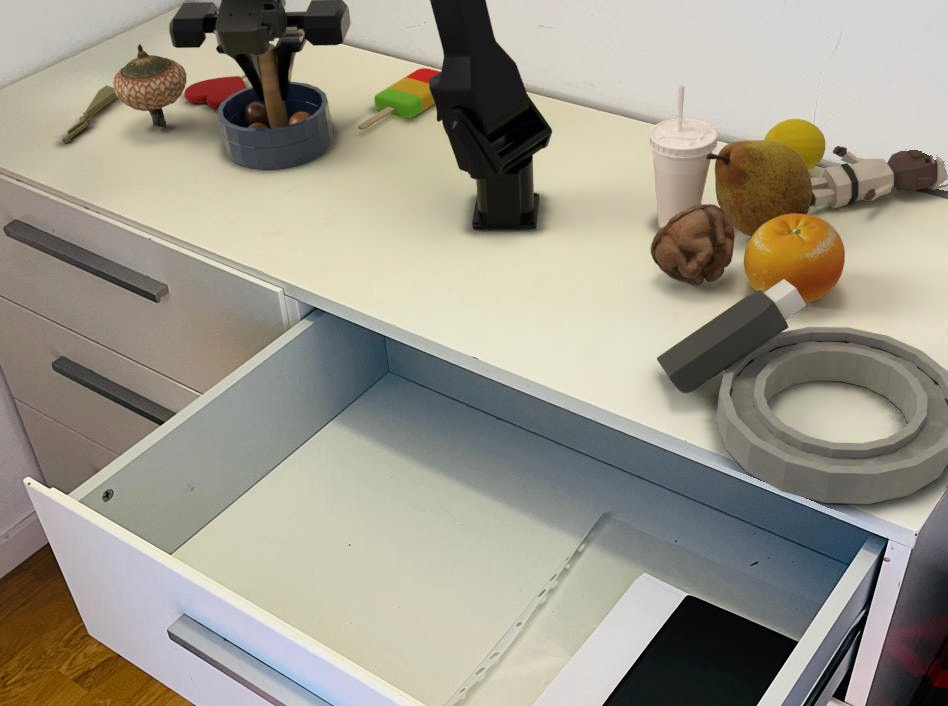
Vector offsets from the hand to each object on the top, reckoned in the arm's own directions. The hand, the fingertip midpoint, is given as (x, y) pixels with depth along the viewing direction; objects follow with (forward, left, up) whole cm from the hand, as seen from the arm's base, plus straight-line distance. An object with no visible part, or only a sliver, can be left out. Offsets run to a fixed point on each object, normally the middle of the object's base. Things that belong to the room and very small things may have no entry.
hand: (274, 99), depth 132 cm
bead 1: (0, +2, -2) cm, 3 cm away
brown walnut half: (-33, -47, -2) cm, 57 cm away
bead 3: (-2, -3, -2) cm, 5 cm away
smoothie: (-21, -45, -4) cm, 49 cm away
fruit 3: (-33, -54, -4) cm, 63 cm away
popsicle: (+6, -13, -4) cm, 15 cm away
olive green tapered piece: (+4, +24, -4) cm, 25 cm away
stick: (0, 0, -3) cm, 3 cm away
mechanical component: (-51, -56, -4) cm, 76 cm away
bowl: (-2, 0, -4) cm, 5 cm away
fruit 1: (-12, -53, 0) cm, 54 cm away
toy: (-17, -56, -3) cm, 59 cm away
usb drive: (-45, -47, +1) cm, 65 cm away
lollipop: (+14, +8, -4) cm, 16 cm away
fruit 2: (-21, -55, -3) cm, 59 cm away
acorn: (+2, +15, -4) cm, 15 cm away
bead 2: (-5, +1, -2) cm, 5 cm away
